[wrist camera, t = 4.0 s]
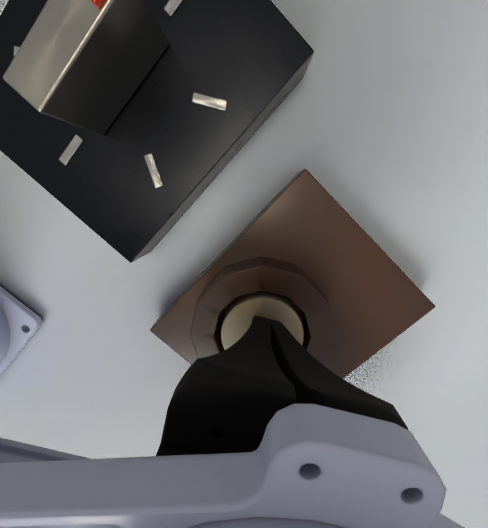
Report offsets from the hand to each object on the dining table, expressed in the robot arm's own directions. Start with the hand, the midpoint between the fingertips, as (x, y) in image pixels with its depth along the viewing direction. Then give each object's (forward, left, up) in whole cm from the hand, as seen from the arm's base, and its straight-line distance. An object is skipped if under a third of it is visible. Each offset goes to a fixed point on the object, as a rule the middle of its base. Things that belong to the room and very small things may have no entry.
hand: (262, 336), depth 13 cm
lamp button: (0, 0, -2) cm, 2 cm away
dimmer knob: (+4, +12, -1) cm, 13 cm away
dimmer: (+4, +12, -3) cm, 13 cm away
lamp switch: (+1, -1, -3) cm, 3 cm away
